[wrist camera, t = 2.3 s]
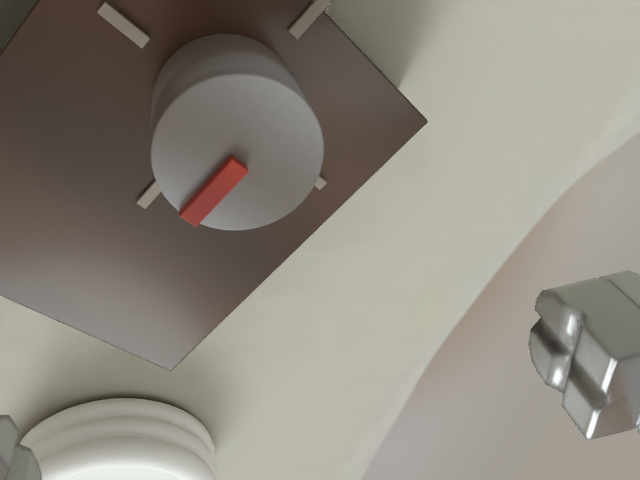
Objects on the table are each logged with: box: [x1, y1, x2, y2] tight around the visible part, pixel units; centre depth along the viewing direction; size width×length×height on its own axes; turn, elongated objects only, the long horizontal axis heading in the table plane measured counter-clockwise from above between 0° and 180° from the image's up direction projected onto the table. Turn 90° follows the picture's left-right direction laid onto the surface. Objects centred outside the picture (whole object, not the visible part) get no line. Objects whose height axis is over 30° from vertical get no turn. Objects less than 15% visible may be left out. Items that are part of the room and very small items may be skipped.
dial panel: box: [0, 0, 428, 371], centre depth 19 cm, size 14×11×3 cm
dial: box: [150, 34, 324, 230], centre depth 16 cm, size 4×4×4 cm
